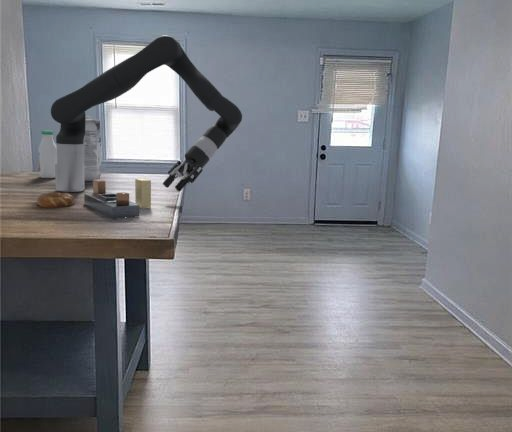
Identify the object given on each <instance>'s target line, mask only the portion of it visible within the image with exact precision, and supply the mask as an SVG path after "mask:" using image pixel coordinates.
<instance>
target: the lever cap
mask: <svg viewBox="0 0 512 432" xmlns="http://www.w3.org/2000/svg"><path fill="white" fill-rule="evenodd" d="M134 180H135V183H134V184H135V190H134V191H135V192H134V193H135V195H134V196H135V202H134V203H136V204H138V205H140V208H141V210H143V209H142V208H148V209H151V208H152V180H151V179H149V178H146V177H145V178H135V179H134Z"/></svg>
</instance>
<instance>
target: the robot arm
mask: <svg viewBox="0 0 512 432" xmlns="http://www.w3.org/2000/svg"><path fill="white" fill-rule="evenodd" d="M161 66H167V67H168V68H169V69H171V70H172V71H174V72H175V73H176V74H177V75H178V76H179V77H180V78H181V79H182V80H183V82H185V84H186V85H187V86H188V87H189V89H190V90H191V91H192V93H193V94H194V95H195V97H196V98H197V99H198V100H199V101H200V102H201V103H202V105H203V106H205V108H206V109H207V110H209V111H210V112H215V113H216V114H217V115H218V116H219V118H218V119H217V121H216V122H214V124H213V125H212V126H210V127H209V128H208V129H207V130H206V131H205V132H204V134H203V135H202V136H201V137H199V138H198V139H197V140H196V141H195V142H194V143H193V145H192V146H191V147H190V148H189V149H188V150H187V151H186V152H185V154H184V159H185V160H184V161H183V162H181V160H178V161H177V162H176V163H175V164H174V165H173V166H172V167H171V168H170V169H169V170H168V172H167V174H168V177H167V178H166V179H165V180H164V181H163V182H162V185H163V186H164V187H165V188H169V187H170V186H171V184H173V182H174V181H175V180H177V179H178V178H181V179H180V180H179V181H178V183H177V184H176V185H175V186H174V188H175V190H176V191H177V192H181V191H182V190H183V189H184V188H185V187H186V186H187V184H190V183H191V184H193V183H194V182H195V181H196V180H197V179H198V177H199V176H200V174H202V172H203V171H204V170H203V168H204V167H205V166H206V165H207V164H208V162H210V160H211V159H212V158H213V157H214V156H215V154H216V152H217V151H218V149H220V147H222V146H223V144H224V143H225V141H226V140H227V139H228V138H229V137H230V136H231V135H232V134H233V133H234V131H236V130H237V128H238V127H239V125H240V123H242V120H243V113H242V111H241V109H240V108H239V107H238V106H237V105H236V104H235V103H233V102H232V101H231V100H229V99H228V98H226V97H225V96H224V95H223V94H222V93H221V92H220V91H219V90H218V89H217V88H216V86H214V84H213V83H212V82H211V81H210V80H209V79H208V78H206V76H205V75H204V74H203V73H202V72H201V71H200V70H199V69H198V68H197V66H195V64H194V63H193V62H192V61H191V60H190V58H189V56H188V55H187V53H186V52H185V51H184V49H183V47H182V45H181V44H180V42H179V41H178V40H176V39H175V38H174V37H173V36H170V35H166V34H165V35H160V36H158V37H156V38H155V39H154V40H152V41H151V42H149V44H147V45H146V46H144V47H143V48H142V49H141V50H139V51H138V52H137V53H135V54H134V55H132V56H130V57H128V58H126V59H125V60H122V61H121V62H119V63H118V64H116V65H114V66H111V68H109V69H107V70H106V71H104V72H103V73H101V74H100V75H98V76H96V77H95V78H94V79H91V80H90V81H88V82H87V83H86V84H85V85H83V86H82V87H80V88H78V89H77V90H74V91H72V92H71V93H68V94H67V95H64V96H62V97H60V98H57V99H55V101H54V102H53V103H52V105H51V107H50V115H51V118H52V119H53V120H54V121H55V122H56V123H59V124H60V129H59V132H58V133H57V135H55V145H56V149H57V164H56V165H55V178H54V179H55V192H63V193H70V192H71V193H72V192H73V193H75V192H83V191H85V190H86V189H85V187H86V186H85V184H86V183H85V181H84V144H83V140H84V136H85V121H86V117H85V116H86V111H88V110H89V109H92V108H93V107H95V106H98V105H101V104H104V103H107V102H110V101H112V100H114V99H117V98H119V97H120V96H122V95H124V94H125V93H127V92H129V91H130V90H132V89H133V88H134V87H136V85H138V83H139V82H141V80H142V79H143V78H144V77H145V76H146V75H147V74H148V73H150V72H152V71H154V70H156V69H157V68H160V67H161Z"/></svg>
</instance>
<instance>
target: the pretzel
mask: <svg viewBox="0 0 512 432" xmlns="http://www.w3.org/2000/svg"><path fill="white" fill-rule="evenodd" d="M75 198H76V197H74V196H73V195H72V194H71V193H70V192H62V193H61V191H51V192H46V193H42V194H39V196H37V199H36V203H37V205H38V206H40V207H41V208H63V207H70V206H73V204H75V202H76V199H75Z"/></svg>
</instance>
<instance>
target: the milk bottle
mask: <svg viewBox="0 0 512 432" xmlns="http://www.w3.org/2000/svg"><path fill="white" fill-rule="evenodd" d="M37 151H38V175H39V178H42V179H55V165H56V164H57V149H56V142H55V141H54V131H53V130H41V141H40V143H39V146H38V150H37Z"/></svg>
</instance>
